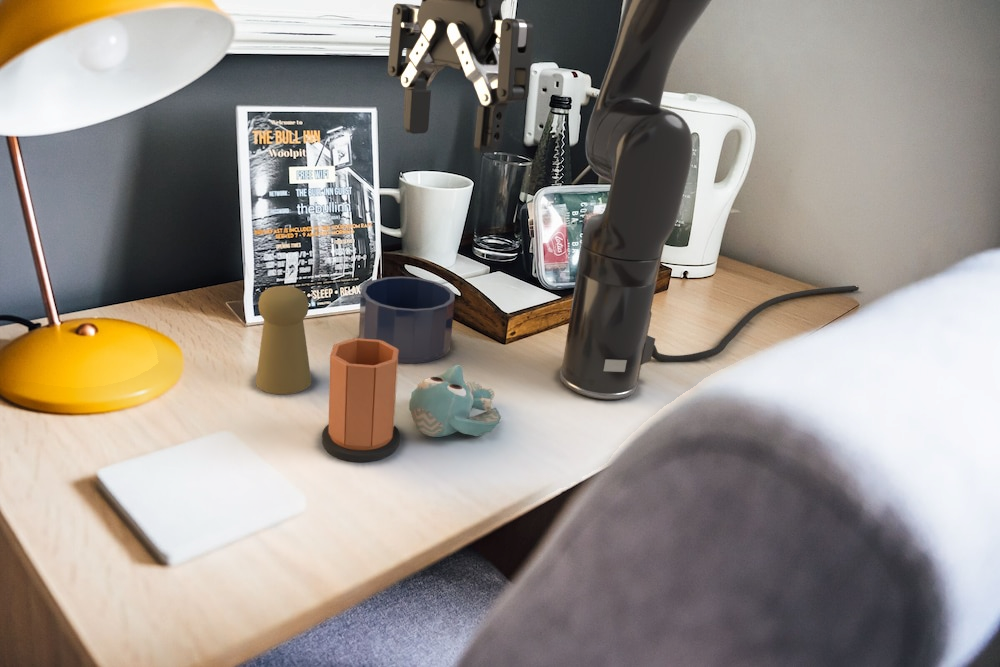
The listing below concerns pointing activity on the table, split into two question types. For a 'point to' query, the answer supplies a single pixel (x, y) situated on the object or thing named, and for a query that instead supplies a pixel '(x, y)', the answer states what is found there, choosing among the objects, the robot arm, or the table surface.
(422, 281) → the big pot
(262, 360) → the olive brown pawn
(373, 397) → the copper pot
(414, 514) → the table surface
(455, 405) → the stuffed animal
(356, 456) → the disc
